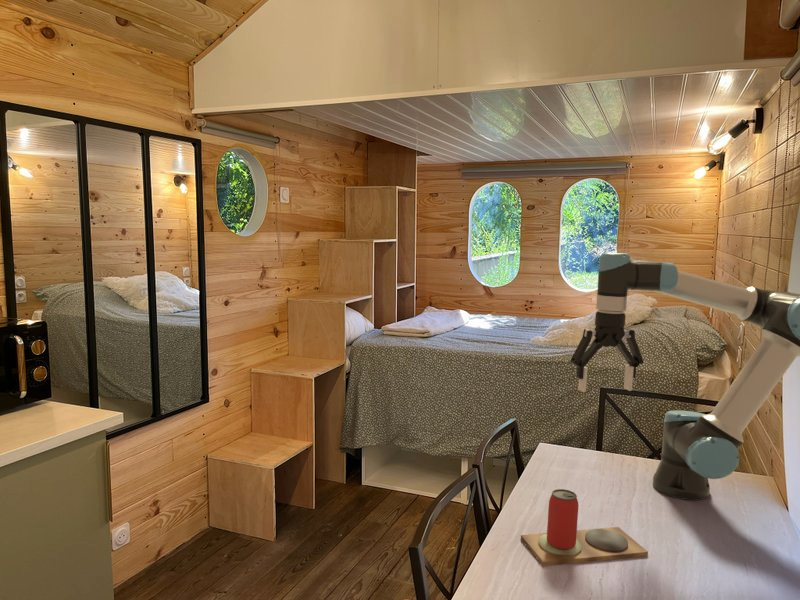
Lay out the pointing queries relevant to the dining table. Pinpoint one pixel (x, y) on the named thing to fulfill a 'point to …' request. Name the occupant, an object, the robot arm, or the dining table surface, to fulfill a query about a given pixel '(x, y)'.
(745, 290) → the robot arm
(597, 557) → the seat board
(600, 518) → the dining table surface
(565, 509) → the beer can
